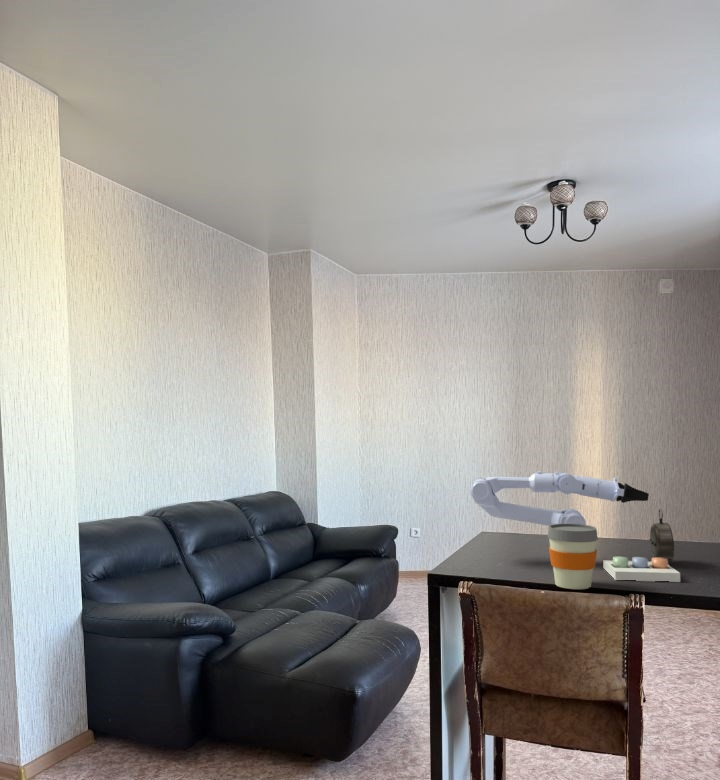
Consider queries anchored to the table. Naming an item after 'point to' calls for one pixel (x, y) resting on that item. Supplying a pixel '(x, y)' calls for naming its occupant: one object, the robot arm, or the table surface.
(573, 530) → the reusable coffee cup
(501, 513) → the robot arm
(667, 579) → the panel
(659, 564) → the terracotta button
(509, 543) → the table surface
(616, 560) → the sage button
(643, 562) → the slate button
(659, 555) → the alarm clock
